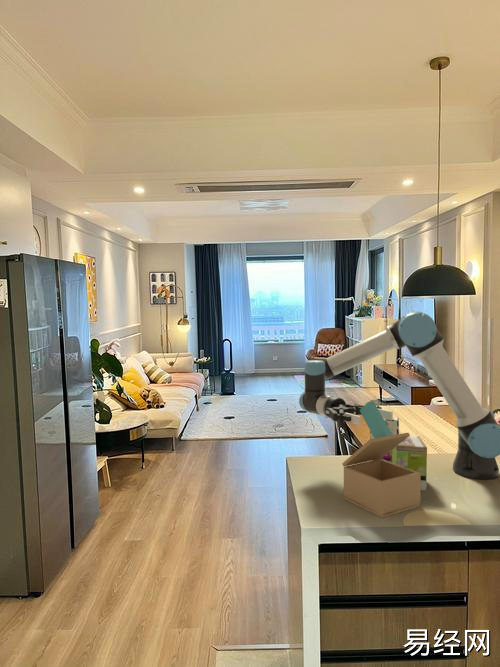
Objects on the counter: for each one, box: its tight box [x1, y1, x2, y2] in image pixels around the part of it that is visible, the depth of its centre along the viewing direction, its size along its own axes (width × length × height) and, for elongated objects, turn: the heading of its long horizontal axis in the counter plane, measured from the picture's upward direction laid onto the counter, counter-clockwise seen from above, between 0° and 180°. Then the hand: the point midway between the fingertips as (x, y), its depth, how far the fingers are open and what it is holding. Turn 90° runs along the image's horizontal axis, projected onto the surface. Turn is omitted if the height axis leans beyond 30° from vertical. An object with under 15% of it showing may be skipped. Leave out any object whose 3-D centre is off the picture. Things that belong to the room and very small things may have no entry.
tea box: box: [390, 435, 428, 492], centre depth 154 cm, size 15×10×15 cm, turn 168°
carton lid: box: [341, 401, 411, 467], centre depth 142 cm, size 16×16×13 cm
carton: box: [343, 459, 421, 518], centre depth 137 cm, size 16×16×10 cm
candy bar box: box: [369, 417, 400, 461], centre depth 182 cm, size 11×5×16 cm, turn 68°
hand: (376, 418), depth 138 cm, fingers open, 13 cm apart
